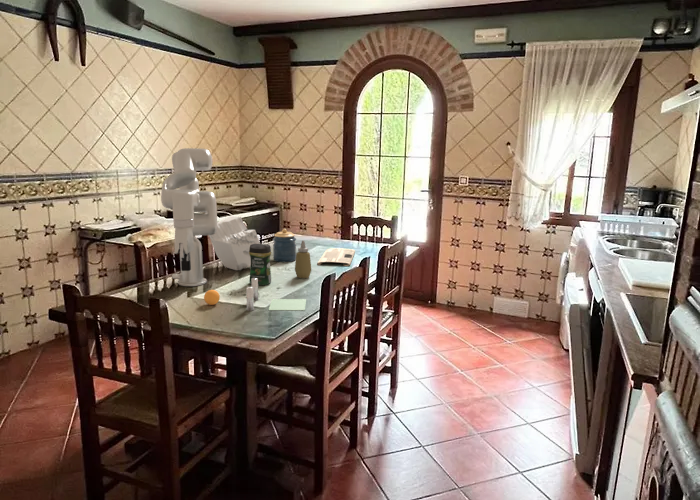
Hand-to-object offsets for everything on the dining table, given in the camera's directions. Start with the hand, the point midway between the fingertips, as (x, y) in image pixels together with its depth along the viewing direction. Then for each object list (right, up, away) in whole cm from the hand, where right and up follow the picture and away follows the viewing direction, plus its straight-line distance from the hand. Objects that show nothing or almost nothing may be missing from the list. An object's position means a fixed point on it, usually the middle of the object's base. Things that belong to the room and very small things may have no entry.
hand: (186, 270), depth 196 cm
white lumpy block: (+5, -2, +64) cm, 64 cm away
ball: (+9, -11, +3) cm, 15 cm away
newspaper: (+56, +2, +91) cm, 107 cm away
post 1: (+25, -15, -2) cm, 30 cm away
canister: (+27, +2, +85) cm, 89 cm away
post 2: (+25, -13, +11) cm, 30 cm away
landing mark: (+39, -14, +5) cm, 42 cm away
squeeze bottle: (+41, -5, +48) cm, 64 cm away
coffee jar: (+23, -8, +36) cm, 43 cm away
